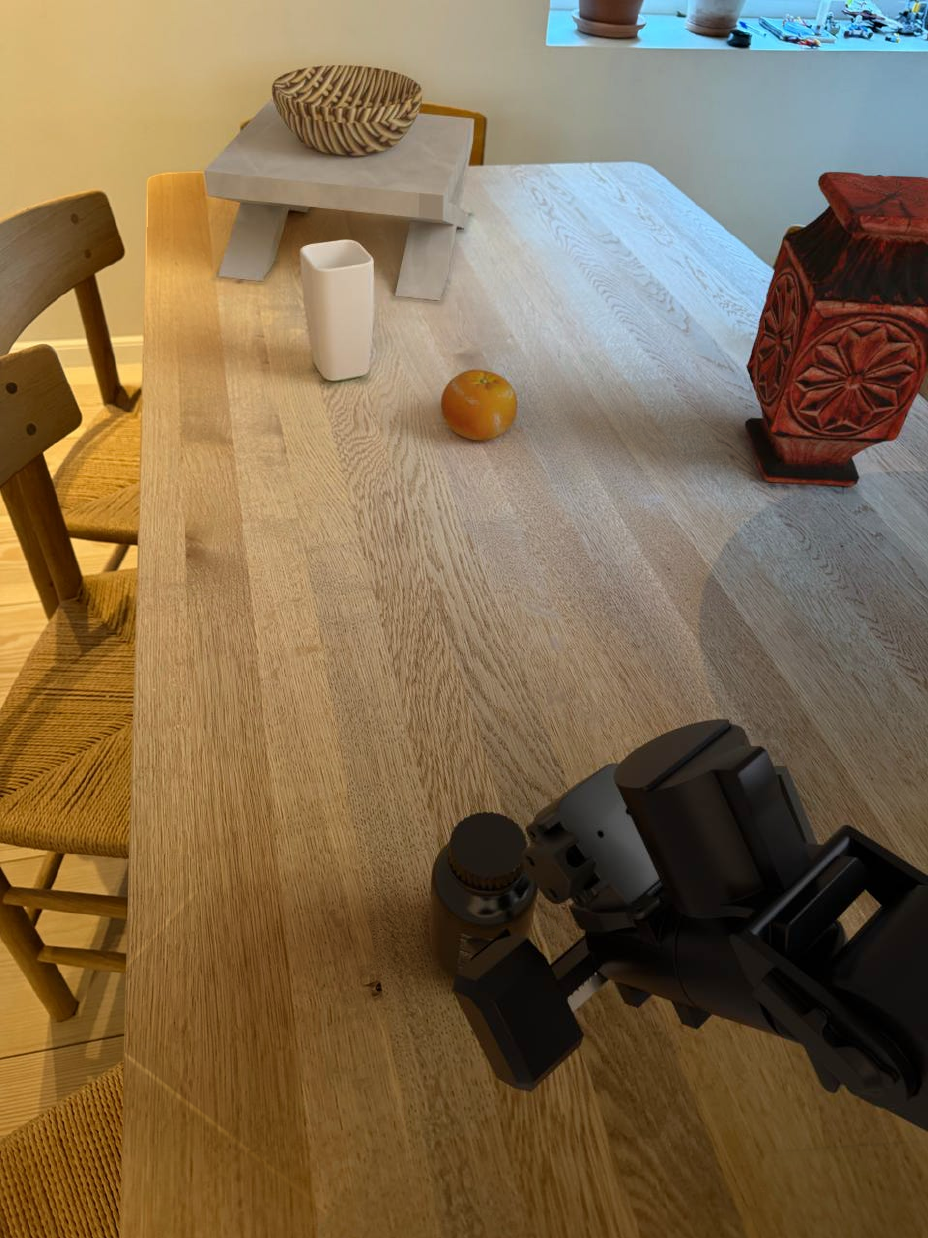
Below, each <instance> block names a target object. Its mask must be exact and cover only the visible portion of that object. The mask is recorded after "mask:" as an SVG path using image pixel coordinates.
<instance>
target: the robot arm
mask: <svg viewBox="0 0 928 1238" xmlns="http://www.w3.org/2000/svg"><path fill="white" fill-rule="evenodd" d="M774 766H775V765H774V764H773V762H772V759H771V757H770V755H769V753H768V750H767V749H765V748H764V747H763V746H761V745H752V744H751V742H750V740H749V737H748V735H747V733H746V730H745V729H743V727H741V725H738V724H737V725H736V724H733V723H731V722H730V720H729V719H727V718H715V719H709V720H708V719H707V720H702V721H698V722H692V723H689V724H686V725H683V726H680V727H677V728H674V729H672V730H670V731H667V732H665V733H663V734H662V733H661V734H660V735H658V736H656V737H654V738H652V739H650V740H648V741H647V742H645V743H644V744H642V745H640V746H638V747H636V749H634V750H633V751H631V752H630V753H629V754H628V755H627V756H625V757H624V758H623V759H622V760H621V761H620V762H619V763H614V762H613V763H609V764H606V765H604V766H603V767H601V768H599V769H597V770H596V771H595V772H592V773H591V774H590V775H588V776H586V777H585V778H583V779H582V780H580V781H578V782H577V783H576V784H574V785H573V786H572V787H570V788H569V789H568V790H566V791H565V792H564V793H563V794H561V795H560V796H558V797H557V798H555V800H553V801H551V802H550V803H548V805H546V806H545V807H544V808H542V809H540V810H539V811H538V812H537V813H536V814H535V816H534V818H533V821H532V822H531V823H529V824H528V825H527V826H526V827H525V832H526V835H527V837H528V838H529V846H527V848H526V849H525V850H524V851H522V852H521V861H522V864H523V866H524V867H525V869H526V870H527V872H528V873H529V875H530V876H531V878H532V879H533V880H534V882H535V883H536V885H537V886H538V890H539V891H540V892H541V894H542V895H543V896H544V898H545V899H546V900H547V901H548V902H550V903H551V904H553V905H561V904H563V903H565V902H567V901H568V900H569V899H570V900H572V903H571V904H569V906H568V909H569V911H570V913H571V915H572V917H573V919H574V921H575V923H576V925H577V927H578V928H579V929H580V930H583V931H584V935H582V936H581V937H580V938H579V939H578V940H577V941H575V942H574V943H573V944H572V945H571V946H570V947H568V948H567V949H566V950H565V951H564V952H563V953H561V955H560V956H558V957H557V958H556V959H555V960H554V961H552V962H551V963H550V962H549V960H548V958H547V957H546V956H545V954H544V953H542V952H541V950H540V949H539V948H538V947H537V946H536V945H535V944H534V943H533V941H531V940H530V938H529V939H528V938H526V937H523V936H520V935H516V934H515V935H512V936H511V934H510V932H509V930H508V929H507V928H506V929H505V930H504V931H502V932H501V933H500V934H499V935H498V936H496V937H495V938H494V939H493V940H491V941H489V940H486V939H482V938H469V939H468V940H467V941H466V945H467V947H468V949H469V951H470V953H471V955H472V957H471V958H470V960H469V962H468V964H466V965H465V966H464V967H463V968H461V969H460V970H459V971H458V972H457V973H456V975H455V979H454V980H453V985H452V988H451V990H452V993H453V994H454V997H455V999H456V1000H457V1002H458V1005H459V1007H460V1008H461V1011H462V1013H463V1014H464V1016H465V1018H466V1020H467V1022H468V1024H469V1026H470V1028H471V1031H472V1032H473V1034H474V1036H475V1038H476V1040H477V1042H478V1044H479V1046H480V1048H481V1050H482V1053H483V1054H484V1056H485V1058H486V1059H487V1062H488V1063H489V1066H490V1068H491V1069H492V1071H493V1073H494V1075H495V1077H496V1079H497V1080H499V1081H501V1082H502V1083H505V1085H508V1086H510V1087H511V1088H513V1089H516V1090H519V1091H524V1092H530V1093H532V1092H533V1091H534V1090H535V1089H536V1088H537V1087H538V1086H540V1084H542V1083H543V1082H544V1081H545V1080H546V1079H547V1078H548V1077H549V1076H550V1075H551V1074H552V1073H553V1072H554V1071H555V1070H557V1069H558V1068H559V1067H560V1066H561V1065H562V1064H563V1063H564V1062H565V1061H566V1060H567V1059H568V1058H569V1057H570V1056H571V1055H572V1054H573V1053H575V1052H576V1051H577V1049H579V1047H581V1045H582V1042H583V1039H584V1037H585V1034H584V1032H583V1030H582V1028H581V1025H580V1024H579V1021H578V1019H577V1017H576V1015H575V1014H574V1013H575V1012H576V1011H577V1010H578V1009H579V1008H580V1007H582V1005H584V1004H585V1003H586V1002H587V1001H588V1000H589V999H590V998H591V997H592V996H593V995H594V994H596V993H597V992H598V991H599V990H600V989H601V988H602V987H603V986H604V985H606V984H607V983H608V982H609V981H612V982H614V985H615V986H616V988H617V990H618V993H619V995H620V997H621V999H622V1002H623V1003H624V1004H625V1005H628V1006H630V1007H633V1008H635V1009H639V1008H640V1007H641V1006H642V1005H643V1004H644V1003H645V1002H646V1001H647V1000H648V999H649V998H650V997H651V996H655V997H658V998H661V999H664V1000H667V1001H670V1003H671V1004H672V1006H673V1009H674V1010H675V1012H676V1015H677V1017H678V1019H679V1021H680V1023H681V1025H683V1026H686V1027H689V1028H691V1029H694V1030H696V1031H697V1030H699V1029H700V1028H701V1027H702V1026H703V1025H704V1024H705V1023H706V1022H707V1020H709V1018H711V1017H712V1016H714V1017H715V1016H716V1017H719V1018H721V1019H724V1020H728V1021H730V1022H734V1023H737V1024H739V1025H743V1026H746V1027H748V1028H751V1029H754V1030H757V1031H760V1032H764V1033H766V1034H770V1035H773V1036H774V1037H778V1038H781V1039H784V1040H787V1041H790V1042H793V1043H796V1044H798V1045H800V1046H802V1047H803V1049H804V1050H805V1052H806V1055H807V1056H808V1059H809V1061H810V1063H811V1066H812V1068H813V1070H814V1072H815V1074H816V1076H817V1078H818V1082H819V1083H820V1085H821V1087H822V1088H823V1089H824V1090H825V1091H826V1092H828V1093H831V1094H836V1093H838V1092H839V1090H841V1088H842V1087H843V1086H844V1087H845V1089H846V1090H847V1092H848V1093H850V1094H851V1095H852V1096H854V1097H858V1098H859V1099H861V1100H863V1101H864V1102H866V1103H869V1104H870V1105H872V1106H874V1107H876V1108H879V1109H884V1110H885V1111H887V1112H889V1113H890V1114H893V1115H895V1116H897V1117H899V1118H901V1119H903V1120H904V1121H906V1122H908V1123H910V1124H912V1125H914V1126H916V1127H917V1128H919V1129H922V1130H923V1131H925V1132H927V1133H928V874H926V873H925V872H923V871H922V870H921V869H919V868H918V867H916V866H914V865H913V864H910V863H909V862H908V861H906V860H905V859H903V858H901V857H900V856H898V855H897V854H895V853H894V852H892V851H891V850H889V849H888V848H886V847H884V846H883V845H881V844H879V843H878V842H877V841H875V840H874V839H872V838H870V837H869V836H867V835H866V834H864V833H862V832H861V831H859V830H858V829H856V828H855V827H854V826H852V825H849V824H843V825H842V826H840V827H839V829H837V831H835V832H834V833H833V834H832V835H831V836H830V837H829V838H828V839H827V840H826V841H825V842H824V843H823V844H820V843H818V844H812V843H804V842H803V841H802V839H801V837H800V834H799V832H798V830H797V827H796V825H795V823H794V821H793V818H792V816H791V814H790V811H789V809H788V807H787V805H786V802H785V800H784V798H783V795H782V792H781V789H780V784H779V779H778V776H777V773H776V770H775V768H774ZM865 891H866V892H867V893H868V894H869V895H870V896H871V897H872V899H874V900H875V901H876V902H877V903H878V904H879V905H880V906H879V907H878V908H877V909H876V911H875V912H874V913H872V915H871V916H870V917H869V918H868V919H867V920H866V921H865V922H864V924H863V925H862V926H861V927H860V928H859V929H858V930H856V932H855V933H854V934H853V935H852V936H851V938H850V939H849V936H848V934H847V933H846V930H845V928H844V925H843V924H842V922H841V921H839V918H840V917H841V916H842V915H843V914H844V913H845V912H846V911H847V910H848V909H849V907H850V906H851V905H852V904H854V902H856V901H857V899H858V898H859V897H860V896H861V895H862V894H863V893H864V892H865Z"/></svg>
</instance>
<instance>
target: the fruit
mask: <svg viewBox="0 0 928 1238" xmlns="http://www.w3.org/2000/svg"><path fill="white" fill-rule="evenodd" d="M440 410H441V414H442V417H443V419H444V421H445V423H446V425H447V426H448V427H449V428H450V429H451V430H452V431H453V432H454V433H456V434H458V435H459V436H461V437H463V438H466V439H468V440H471V441H489V440H492V439H495V438H497V437H499V436H501V435H503V434H505V433H506V432H507V431H508V430H509V429H510V428H511V426H512V425H513V423H514V422H515V420H516V417H517V413H518V397H517V394H516V391H515V390H514V388H513V386H512V385H511V384H510V382H509V381H508V380H507V379H505V378H504V377H503V376H501V375H499V374H498V373H495V372H494V371H493V372H492V371H488V370H484V369H469V370H466V371H463V372H460V373H459V374H458V375H456V376H455V377H452V379H450V381H449V382H448V383H446V386H445V388H444V389H443V392H442V395H441V399H440Z"/></svg>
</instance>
